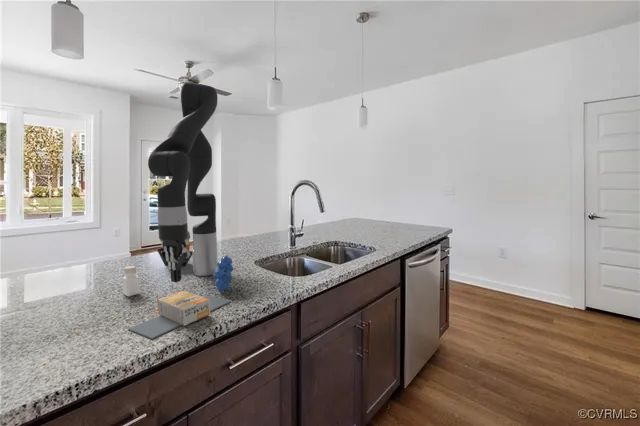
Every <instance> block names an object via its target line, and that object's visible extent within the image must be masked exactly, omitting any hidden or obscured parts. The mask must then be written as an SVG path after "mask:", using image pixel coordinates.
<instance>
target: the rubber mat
mask: <svg viewBox="0 0 640 426" xmlns="http://www.w3.org/2000/svg"><path fill="white" fill-rule="evenodd" d="M203 298H206V299H209V300H210V313H211V312H213V311H215V309H216V310H217V308H218V309H220V308H221V307H224V306H227V305H228V304H230V303H231V300H229V299H224V298H220V297H216V296H212V295H207V296H204V297H203ZM219 307H220V308H219ZM181 326H183V325H181V324H179V323H177V322H175V321H173V320H171V319H168V318H166V317H164V316H162V315H160V314H159V315H158V316H155V317H153V318H151V319H149V320H146V321H143V322H141V323H138V324H136V325H134V326H131V327H129V328H128V331H130V332H132V333H135V334H137V335H140V336H142V337H145V338H147V339H150V340H154V339H156V338H158V337H161V336H163V335H165V334H167V333H169V332H171V331H173V330H175V329H177V328H180V327H181Z"/></svg>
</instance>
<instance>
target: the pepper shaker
mask: <svg viewBox="0 0 640 426" xmlns="http://www.w3.org/2000/svg"><path fill="white" fill-rule="evenodd" d="M136 272H137V271H136V266H135V265H129V266H125V267H124V274H125V276H123V277H122V288H123V289H122V290H123V294H124V295H125V296H127V297H133V296H136V295H139V294H140V293H141V291H140V277H139V275H137V274H136Z"/></svg>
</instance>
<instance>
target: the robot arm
mask: <svg viewBox="0 0 640 426" xmlns="http://www.w3.org/2000/svg"><path fill="white" fill-rule="evenodd" d="M180 104H181V112H182V118H181V119H179V120H178V121H176V123H174V125H173V126H172V128H171V130H170V131H169V134H168V135H167V137H166V139H164V140H163V141H162V142H161V143H160V144H159V145H157V146H156V147H155V148H154V149H153V150H152V152H151V153H150V154H149V157H148V160H147V166H148V167H147V168H148V169H149V171H150V172H151V174H152V175H154V176H156V177H172V178H171V180H170V182H169V183H168V184H163V185H161V186H159V187H158V188H157V189H156V190H157V191H156V192H157V197H156V198H157V227H158V238H159V241H160V240H163V243H162V244H161V246H162V245H163V246H162V247H161V246H160V247H159V248H157V253H158V255H159V257H160V259H161V261H162V262H163V264H164V266H165V267H166V266H168V267H167V268H168V269H169V271H170V281H171V282H172V283H178V282H181V281H182V268H185V267H187V265H188V264H189V261H190V260H192V273H193V274H194V275H196V276H198V277H199V276H200V277H204V276H207V277H208V276H212V275H213V272H214V271H215V270H216V269H218V266H217V264H218V262H219V261H218V239H217V237H218V236H217V219H216V217H217V216H216V215H217V211H216V210H217V199H216V196H215V194H213V193H197V191H198V189H199V186H200V185H201V183H202V182H203V180H204V178H205V177H206V176H207V175H208V173H209V172H210V171H211V169H212V166H213V149H212V146H211V144H210V142H209V140H208V139H207V137H206V136H205V134H204V133H203V131H202V129H203V128H204V126H205V125H206V124H207V122H208V121H209V120H210V119H211V118H212V116H213V115H214V114H215V111H216V109H217V106H218V93H217V90H216V89H215V88H214V87H213V86H211V85H206V84H201V83H195V82H189V81H188V82H187V81H186V82H184V83H183V84H182V86H181V88H180ZM186 188H187V189H186ZM186 190H187V194H186ZM186 197H187V198H186ZM186 205H187V207H186ZM187 212H188V213H187ZM188 215H189V216H191V217H207V218H206V219H205V220H203V221H202V222H201V223H200V222H199V223H197V224H195V225H193V226H192V242H193V244H192V246H193V250H189V251H188V250H187V249H186V243H185V239H186V238H187V237H188V231H189V229H188V227H189V226H188ZM191 258H192V259H191ZM167 261H168V262H167ZM213 276H214V275H213Z"/></svg>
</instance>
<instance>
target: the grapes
mask: <svg viewBox="0 0 640 426" xmlns="http://www.w3.org/2000/svg"><path fill="white" fill-rule="evenodd" d="M232 264H233V260H232V258H231V257H229V256H228V255H224V256H223V257H221V259H220V260H219V261H218V264H217V266H218V269H216V270H215V271H214V272H213V277H214V278H216V280H214V281H215V282H214V285H215V286H216V288H217V290H218V292H220V293H223V292H224V291H225V290H228V288H229V287H230V285H231V284H230V282H232V279H233V275H232V272H233V271H234V270H235V267H234V266H233V265H232Z"/></svg>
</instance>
